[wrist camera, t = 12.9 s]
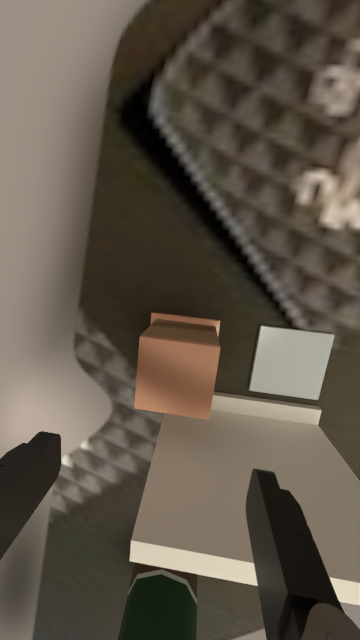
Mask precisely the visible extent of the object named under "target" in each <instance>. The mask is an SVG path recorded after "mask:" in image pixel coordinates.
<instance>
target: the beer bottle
mask: <svg viewBox="0 0 360 640" xmlns="http://www.w3.org/2000/svg"><path fill="white" fill-rule="evenodd" d="M196 617H197V574H194V573H188V572H183V571H178V570H173V569H168V568H162V567H157V566H152V565H147V564H142V563H135V566H134V571H133V575H132V580H131V584H130V588H129V593H128V597H127V602H126V606H125V611H124V615H123V619H122V624H121V628H120V633H119V637H118V640H196Z"/></svg>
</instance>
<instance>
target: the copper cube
mask: <svg viewBox="0 0 360 640" xmlns="http://www.w3.org/2000/svg"><path fill="white" fill-rule="evenodd" d="M220 348H221V347H220V343H219V339H218V335H217V331H216V327H215V326H209V325H201V324H194V323H186V322H178V321H170V320H163V319H156V320H155V321H154V322H153V323H152V324H151V325H150V326H149V327H148V328H147V329H146V330H145V332H144V333H143V334H142V335H141V336H140V339H139V353H138V366H137V379H136V392H135V405H134V408H135V409H142V410H148V411H154V412H161V413H167V414H174V415H180V416H187V417H193V418H200V419H206V420H209V418H210V412H211V405H212V399H213V393H214V386H215V380H216V374H217V367H218V361H219V354H220Z"/></svg>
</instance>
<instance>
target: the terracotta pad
mask: <svg viewBox="0 0 360 640" xmlns="http://www.w3.org/2000/svg"><path fill="white" fill-rule="evenodd" d="M156 319H163V320H170V321H178V322H186V323H194V324H201V325H209V326H215V327H216V331H217V335H219V328H220V320H215V319H206V318H198V317H190V316H181V315H173V314H164V313H156V312H152V313H151V324H152V323H153V322H154V321H155V320H156Z"/></svg>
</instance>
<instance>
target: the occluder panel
mask: <svg viewBox="0 0 360 640" xmlns="http://www.w3.org/2000/svg"><path fill="white" fill-rule="evenodd" d="M321 411H322V410H321V409H320V408H319V407H318V406H314V405H307V404H300V403H293V402H286V401H278V400H271V399H264V398H257V397H250V396H242V395H235V394H228V393H221V392H214V393H213V399H212V405H211V412H210V418H209V420H206V419H200V418H193V417H187V416H180V415H174V414H167V413H164V416H163V420H162V424H161V428H160V432H159V435H158V439H157V443H156V447H155V451H154V455H153V458H152V462H151V466H150V470H149V474H148V477H147V481H146V485H145V489H144V493H143V497H142V500H141V504H140V508H139V512H138V516H137V520H136V523H135V527H134V531H133V535H132V539H131V548H130V561H131V562H136V563H142V564H147V565H152V566H157V567H162V568H168V569H173V570H178V571H183V572H188V573H194V574H199V575H204V576H209V577H214V578H220V579H225V580H230V581H235V582H240V583H246V584H251V585H256V586H258V584H257V578H256V572H255V566H254V561H253V555H252V549H251V543H250V537H249V531H248V525H247V519H246V497H247V492H248V488H249V483H250V479H251V474H252V470H253V469H254V468H256V469H262V470H267V471H273V472H274V473H275V475H276V478H277V481H278V484H279V486H280V489H284V490H289V491H290V492H291V494H292V495H293V496H294V498H295V499H296V500H297V502H298V503H299V504H300V506H301V509H302V511H303V514H304V516H305V518H306V521H307V525H308V526H309V528H310V531H311V533H312V536H313V540H314V541H315V543H316V546H317V548H318V551H319V553H320V556H321V558H322V561H323V563H324V566H325V568H326V571H327V573H328V576H329V578H330V581H331V583H332V585H333V588H334V590H335V593H336V595H337V598H338V600H339V602H344V603H350V604H355V605H360V481H359V479H358V478H357V477H356V475H355V474H354V473H353V471H352V470H351V469H350V467H349V466H348V465H347V463H346V462H345V461H344V459H343V458H342V457H341V455H340V454H339V453H338V451H337V450H336V449H335V447H334V446H333V445H332V443H331V442H330V441H329V439H328V438H327V437H326V435H325V434H324V433H323V432H322V430H321V429H320V428H319V426H318V423H319V419H320V415H321Z"/></svg>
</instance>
